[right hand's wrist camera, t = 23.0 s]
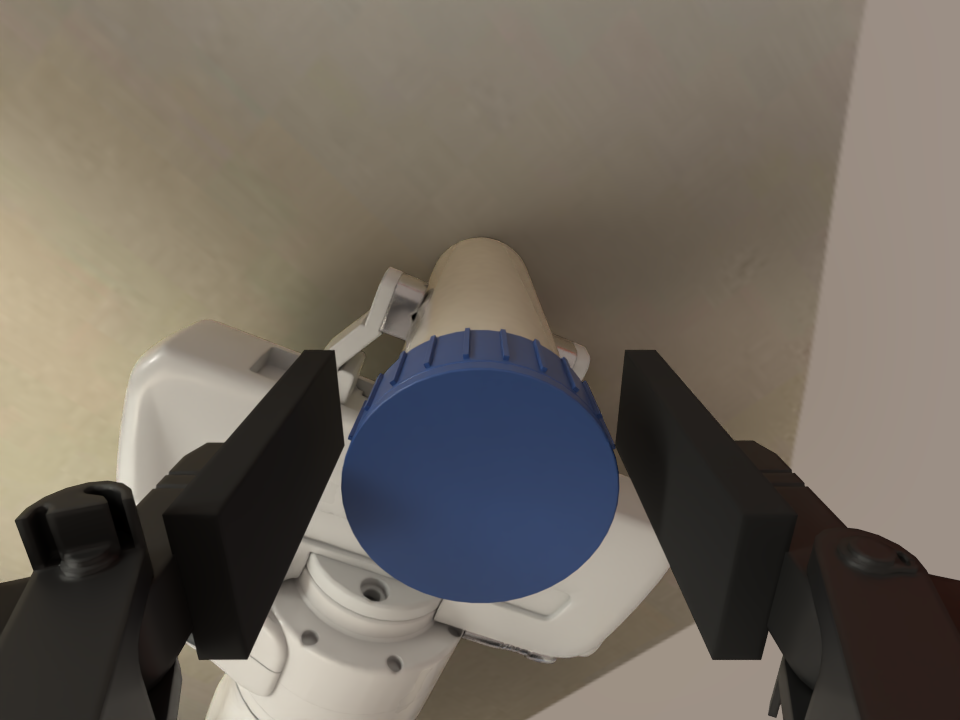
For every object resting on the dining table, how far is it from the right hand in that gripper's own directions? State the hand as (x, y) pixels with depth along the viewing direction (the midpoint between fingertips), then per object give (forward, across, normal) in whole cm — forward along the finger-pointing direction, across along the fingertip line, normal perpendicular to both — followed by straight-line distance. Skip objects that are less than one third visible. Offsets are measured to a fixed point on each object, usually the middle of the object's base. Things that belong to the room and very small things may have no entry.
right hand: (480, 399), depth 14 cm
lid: (-4, 0, 0) cm, 4 cm away
